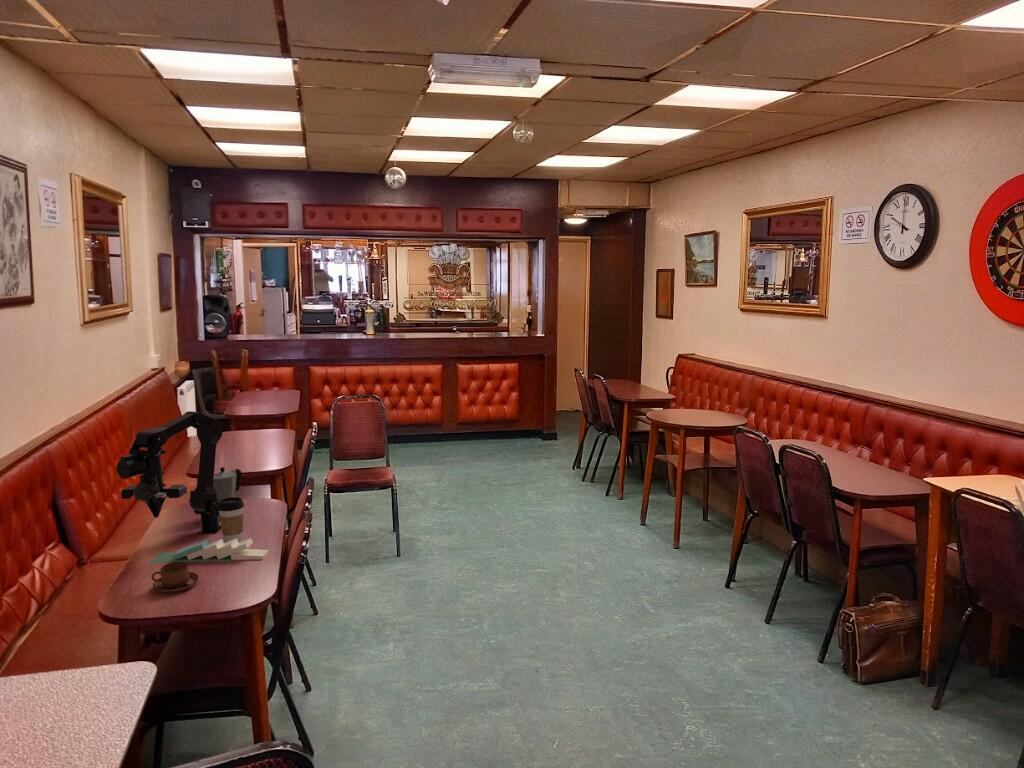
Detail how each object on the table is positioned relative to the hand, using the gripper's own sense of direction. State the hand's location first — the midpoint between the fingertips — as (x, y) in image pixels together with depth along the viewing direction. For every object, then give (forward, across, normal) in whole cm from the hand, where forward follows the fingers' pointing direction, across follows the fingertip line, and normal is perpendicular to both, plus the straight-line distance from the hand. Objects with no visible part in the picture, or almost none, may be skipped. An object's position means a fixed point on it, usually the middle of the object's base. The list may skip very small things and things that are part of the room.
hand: (156, 517), depth 234 cm
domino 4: (+11, +22, -5) cm, 25 cm away
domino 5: (+11, +26, -5) cm, 29 cm away
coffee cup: (+12, +21, +8) cm, 25 cm away
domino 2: (+11, +12, -5) cm, 17 cm away
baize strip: (+12, +14, -5) cm, 19 cm away
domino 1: (+10, +8, -5) cm, 14 cm away
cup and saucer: (+12, +17, -25) cm, 33 cm away
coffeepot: (+12, +7, +38) cm, 41 cm away
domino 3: (+11, +17, -5) cm, 21 cm away
